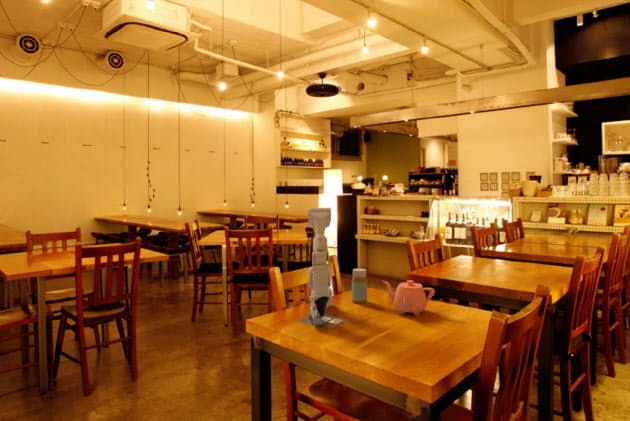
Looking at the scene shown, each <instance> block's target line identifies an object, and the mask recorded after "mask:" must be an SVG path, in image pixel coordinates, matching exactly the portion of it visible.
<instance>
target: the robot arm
mask: <svg viewBox="0 0 630 421" xmlns="http://www.w3.org/2000/svg"><path fill="white" fill-rule="evenodd" d="M307 209H308V211H307V212H308V218H307V219H308V220H307V221H308V225H309V227H310V228H312V229H313V232H314V237H313V239H312V253H311V263H312V266H311V267H310V268H309V269H308V274H307V275H308V281H307V282H308V288H310V290H311V292H310V293H311V294H310V295H309V296H308V302H311V303H310V305H311V306H310V307H316V308H317V311H318V312H319V314H320V316H324V314H326V313H325V312H326V309H327V308H328V307H331V306H333V292H332V288H331V286H332V277H331V270H330V268H329V264H330V253H329V249H328V238H327V236H325V231H326V228H330V225H331V221H332V209H331V207H308V208H307Z"/></svg>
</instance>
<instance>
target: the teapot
mask: <svg viewBox="0 0 630 421" xmlns="http://www.w3.org/2000/svg"><path fill="white" fill-rule="evenodd" d="M381 281H382V283H383V284H384V285H385V286H386V289H387V294H388V297H389V299H390V300H391V301H392V303H393V306H394V309H395V310H396V311H398V312H397V314H398V315H405V313H413V316H415V317H420V316H421V313H422V312H424V311H425V309H426V308H427V306H428V301H430V300H431V299H432V297H433V296H434V295H435V292H436V290H435V289H434V288H433V287H424V286H423V285H422V284H421V283H417V282H415V281H414V280H411V279H409V280H406V282H401V283H399V284H398V286H397V288H396V290H395V292H394V291H393V289H392V286H391V284H390V282H388V281H384V280H381ZM426 291H428V292H429V294H428V296H427V294H426Z"/></svg>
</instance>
